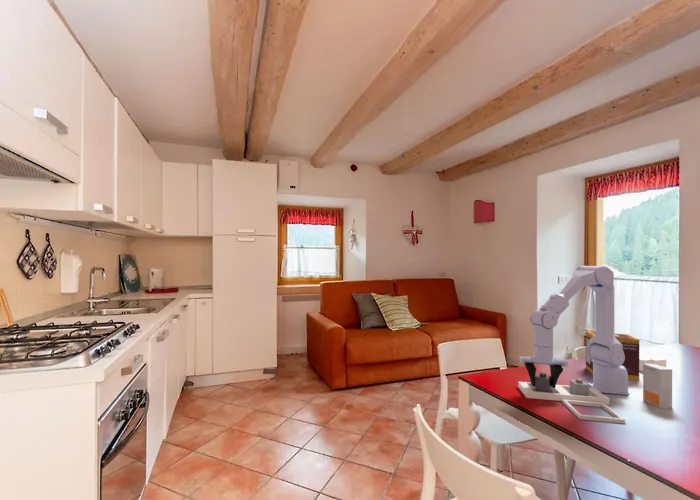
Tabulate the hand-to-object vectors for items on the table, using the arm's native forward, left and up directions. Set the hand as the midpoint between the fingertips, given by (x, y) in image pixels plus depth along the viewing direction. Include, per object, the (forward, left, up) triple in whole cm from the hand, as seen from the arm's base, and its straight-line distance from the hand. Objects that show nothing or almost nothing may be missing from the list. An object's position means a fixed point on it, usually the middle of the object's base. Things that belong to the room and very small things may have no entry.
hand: (542, 386), depth 117 cm
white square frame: (-10, +12, -3) cm, 16 cm away
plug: (0, 0, -2) cm, 2 cm away
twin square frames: (-6, 0, -3) cm, 6 cm away
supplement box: (-36, -31, -3) cm, 47 cm away
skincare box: (-34, 0, -3) cm, 34 cm away
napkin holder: (-54, -40, -3) cm, 68 cm away
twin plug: (-11, 0, -3) cm, 11 cm away
